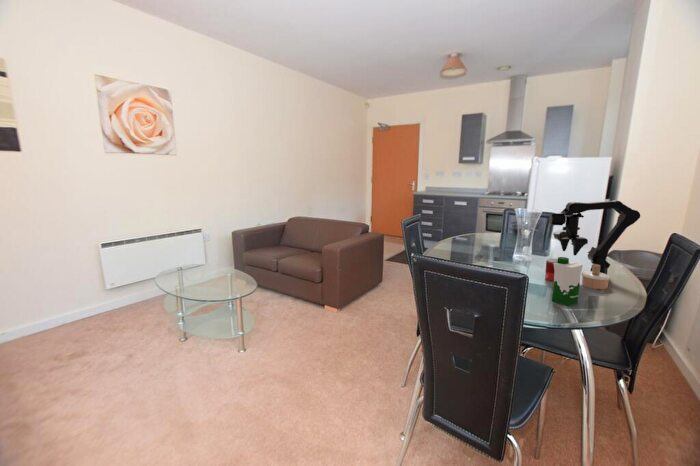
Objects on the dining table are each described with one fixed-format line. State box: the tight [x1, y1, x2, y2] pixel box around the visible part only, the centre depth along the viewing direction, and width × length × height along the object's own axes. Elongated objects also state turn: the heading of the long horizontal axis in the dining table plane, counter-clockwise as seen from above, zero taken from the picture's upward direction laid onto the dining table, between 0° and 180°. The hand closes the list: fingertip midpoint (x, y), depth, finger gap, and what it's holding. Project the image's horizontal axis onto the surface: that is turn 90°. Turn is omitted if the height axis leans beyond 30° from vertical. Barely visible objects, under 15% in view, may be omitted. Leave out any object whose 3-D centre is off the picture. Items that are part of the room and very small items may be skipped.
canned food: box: [544, 258, 558, 283], centre depth 164 cm, size 8×8×11 cm
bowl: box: [581, 275, 610, 290], centre depth 154 cm, size 10×10×5 cm
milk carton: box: [551, 256, 583, 307], centre depth 135 cm, size 9×9×20 cm
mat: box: [578, 284, 609, 297], centre depth 149 cm, size 14×14×1 cm
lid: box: [581, 264, 611, 280], centre depth 153 cm, size 11×11×6 cm
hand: (569, 253), depth 170 cm, fingers open, 9 cm apart
